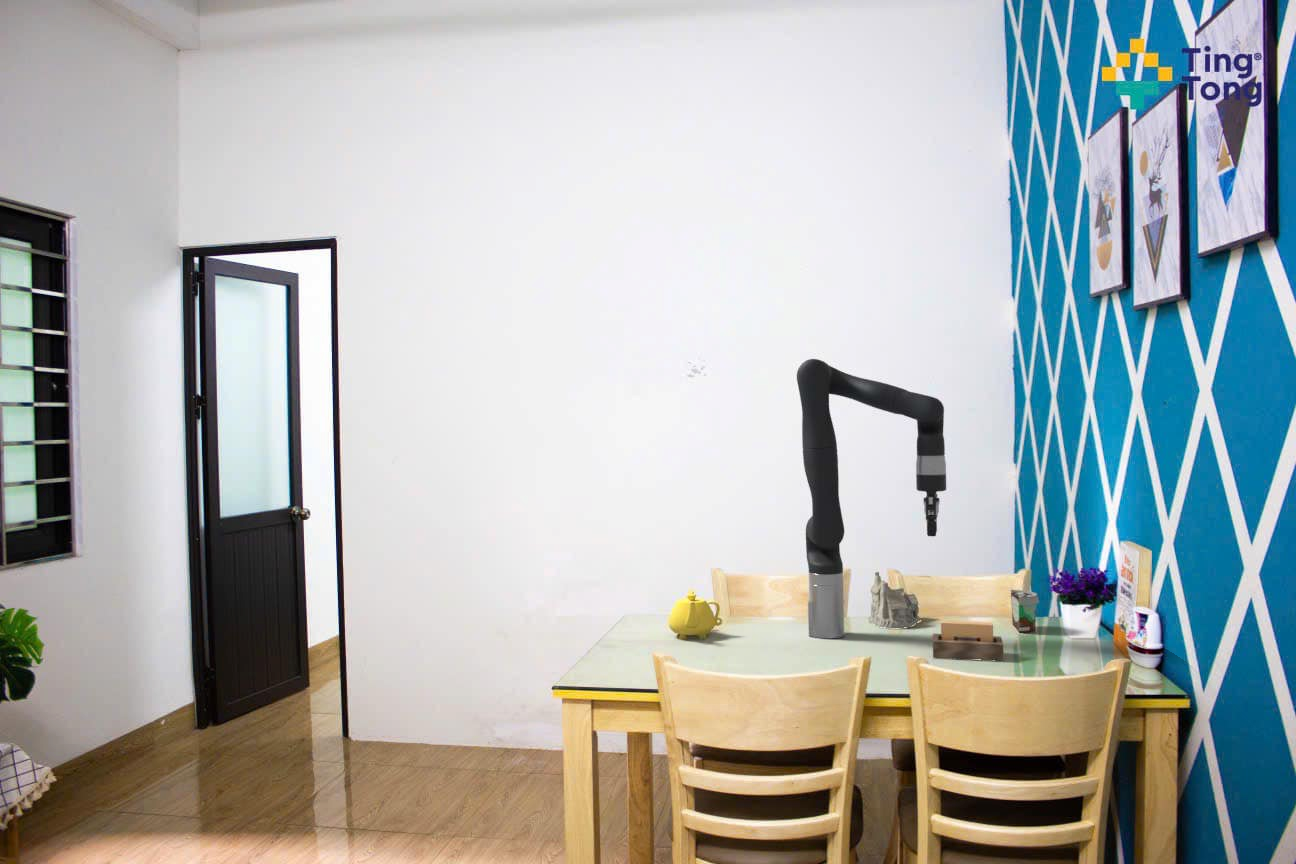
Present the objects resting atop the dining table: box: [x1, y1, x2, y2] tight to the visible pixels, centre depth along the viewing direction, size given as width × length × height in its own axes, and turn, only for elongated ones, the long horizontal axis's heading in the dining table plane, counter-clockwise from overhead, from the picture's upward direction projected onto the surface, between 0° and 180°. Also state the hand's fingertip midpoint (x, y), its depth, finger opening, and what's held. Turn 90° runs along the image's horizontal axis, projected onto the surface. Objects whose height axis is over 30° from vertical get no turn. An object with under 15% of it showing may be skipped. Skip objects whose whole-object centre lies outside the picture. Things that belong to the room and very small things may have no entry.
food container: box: [1010, 589, 1040, 634], centre depth 252 cm, size 12×6×10 cm, turn 168°
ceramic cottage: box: [868, 571, 922, 628], centre depth 266 cm, size 16×16×15 cm
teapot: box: [668, 588, 723, 640], centre depth 255 cm, size 20×15×12 cm
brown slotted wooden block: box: [932, 633, 1004, 662], centre depth 226 cm, size 16×9×4 cm, turn 72°
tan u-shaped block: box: [940, 620, 994, 642], centre depth 226 cm, size 12×3×8 cm, turn 71°
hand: (932, 534), depth 242 cm, fingers open, 8 cm apart
